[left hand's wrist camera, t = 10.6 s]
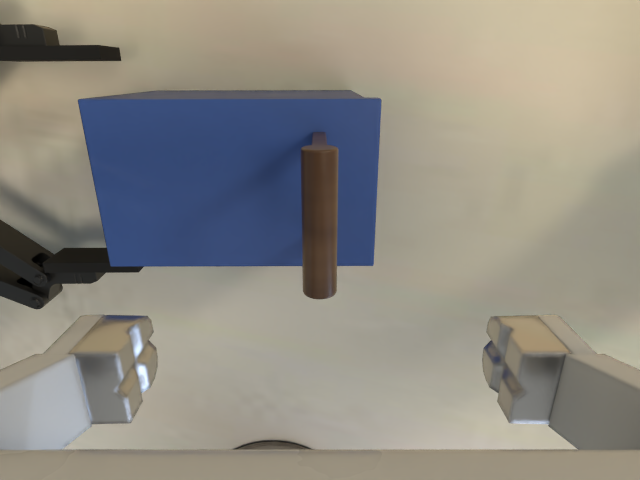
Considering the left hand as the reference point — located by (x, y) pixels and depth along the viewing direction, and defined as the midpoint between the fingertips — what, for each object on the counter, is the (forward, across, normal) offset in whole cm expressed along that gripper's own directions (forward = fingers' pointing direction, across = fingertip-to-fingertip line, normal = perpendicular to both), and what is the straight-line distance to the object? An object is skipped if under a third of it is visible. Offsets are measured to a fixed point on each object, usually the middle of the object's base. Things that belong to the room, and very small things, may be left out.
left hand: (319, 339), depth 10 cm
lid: (+15, -5, 0) cm, 16 cm away
